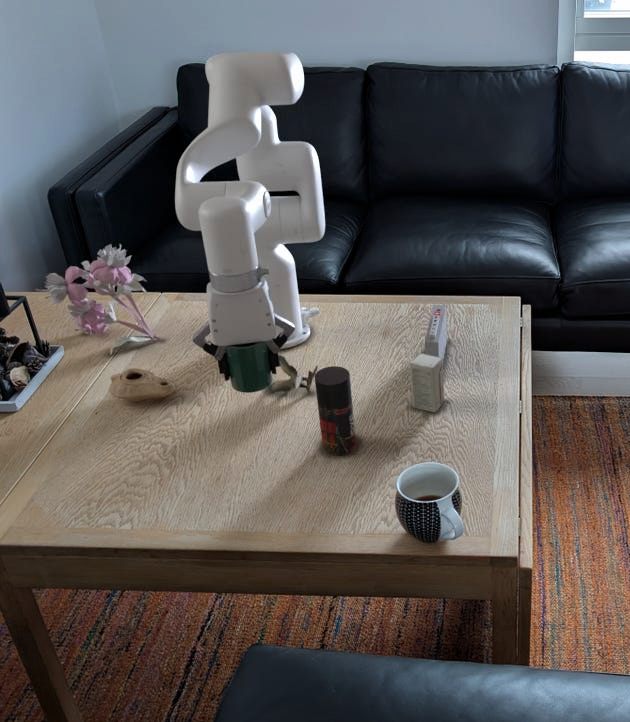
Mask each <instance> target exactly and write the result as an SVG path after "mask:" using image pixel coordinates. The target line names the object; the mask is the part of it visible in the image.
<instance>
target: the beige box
mask: <svg viewBox="0 0 630 722" xmlns="http://www.w3.org/2000/svg"><path fill="white" fill-rule="evenodd" d="M409 372H410V373H409V374H410V386H411V402H412V403H411V404H412V408H415V409H419V410H423V411H427V412H431V413H436V412H437V411H438V410H439V409H440V408H441V407H442V406H443V404H444V403H445V383H444V382H445V381H444V358H441V357H437V356H433V355H428V354H425V353H424V352H420V353H419V354H418V355H416V356H415V357H414V358H413V359H411V361H410V362H409Z"/></svg>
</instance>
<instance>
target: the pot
mask: <svg viewBox="0 0 630 722" xmlns="http://www.w3.org/2000/svg"><path fill="white" fill-rule="evenodd" d="M225 348H226V350H225V354H226V359H227V365H228V370H229V376H230V379H229V381H230V385H231V387H232V389H233V390H235V391H236V392H240V393H245V394H247V393H257V392H260V391H263V390H265V389H266V388H267V389H268V388H269V386H270V385H272V383H273V381H274V377H273V375H274V374H272V369H271V362H270V356H269V347H268V346H267V345H266V341H261V342H256V343H248V344H239V345H228V346H225Z"/></svg>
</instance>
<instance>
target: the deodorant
mask: <svg viewBox="0 0 630 722" xmlns="http://www.w3.org/2000/svg"><path fill="white" fill-rule="evenodd" d="M349 371H350V370H348V369H347V368H346V367H342V366H339V365H337V366H336V365H333V366H326V367H323V368H321V369H319V370H317V371H316V373H315V376H314V382H315V392H316V393H315V394H316V400H317V401H316V402H317V408H318V418H319V419H318V420H319V427H320V435H321V443H322V450H323V451H324V452H325V453H326V454H327V455H330V456H335V457H336V456H337V457H338V456H340V457H341V456H344V455H347V454H350V453H352V452H353V451H354V450H355V448H356V446H357V440H356V431H355V418H354V408H353V396H352V395H353V394H352V385H351V374H350V372H349Z"/></svg>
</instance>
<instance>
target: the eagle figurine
mask: <svg viewBox="0 0 630 722" xmlns="http://www.w3.org/2000/svg"><path fill="white" fill-rule="evenodd" d="M278 355H279V363H280V369H281V370H282V371H283V373H284V374H286V375H287V376H289V379H284V380H283V379H282V380H278V381H276V382H274V383H273V382H272V383H273V384H270V385H269V386H268V387H267V389H268V392H269V393H270V394H275V393H281V392H283V393H287V392H290V391H291V389H293V387H295V390H298V389H299V388H302V389H305V390H306V392H307V394H308V395H310V394H311V386H312V383H313V380H314V379H315V374H316V373H317V372H318V368H319V365H315V367H314V369H313V370H312V371H311V370H310V369H309V370H308V373H307V377H304V376H303V375H302V374H299V373H298V370H297V369H296V368H295V367H294V365H291V364H290V363H289V362H288V361H287V359H286V358H285V356H284V355H280V354H278ZM298 374H299V375H298ZM302 381H303V382H304V381H305V382H306V385H305V384H304V383H302Z"/></svg>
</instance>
